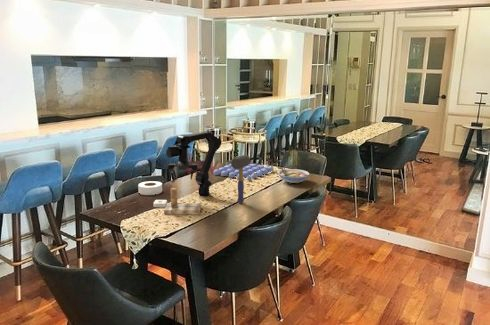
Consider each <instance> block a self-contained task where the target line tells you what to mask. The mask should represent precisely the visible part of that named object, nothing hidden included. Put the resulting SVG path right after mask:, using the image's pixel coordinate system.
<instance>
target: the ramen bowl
mask: <svg viewBox="0 0 490 325" xmlns="http://www.w3.org/2000/svg"><path fill="white" fill-rule="evenodd" d="M277 173H278V174H277V175H278V176H279V177H280V179H282V181H284V182H286V183H288V182H289V183H288V184H291V183H297V184H299V183H302V182H304V181H306V180H307V179H308V177H309V176H310V172H309V171H306V170H304V169H297V168H296V169H295V168H287V169H286V168H285V167H281V169H280V170H279V171H278V172H277Z"/></svg>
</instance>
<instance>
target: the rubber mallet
mask: <svg viewBox="0 0 490 325" xmlns="http://www.w3.org/2000/svg"><path fill="white" fill-rule="evenodd" d="M230 164H231V166H232V167H233V168H234V169H239V179H238V181H237V202H238V204H243V203H244V201H245V199H244V188H245V185H244V177H243V167H246V166H248V165H249V164H251V158H250V156H249V155H248V154H247V155H246V154H243V155H239V156H238V155H237V156H235V157H234V158H232V159H231V162H230Z"/></svg>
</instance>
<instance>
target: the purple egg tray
mask: <svg viewBox="0 0 490 325" xmlns="http://www.w3.org/2000/svg"><path fill="white" fill-rule="evenodd" d="M259 170H260V171H259ZM271 171H272V172H273V166H269V165H268V166H265V165H261V164H256V163H250V164H249V165H248V166H246V167H243V178H244V177H246V179H247V181H248V180H250V181H251V180H252V179H253V178H256V179H257V178H258V177H257V176H261V177H263V176H264V175H263V174H267V173H268V172H271ZM212 172H213V175H215V176H220V175H221V177H223V176H226V177H227V176H228V177H229V178H230V179H234V178H235V177H236V178H237V180H239V169H234V168H233V167H232V166H231V163H229V164H228V165H227V164H226V165H224V166H222V167H220V168H219V169H217V168H216V169H214V170H213V171H212ZM254 172H256V173H254ZM228 174H229V175H228ZM268 174H269V173H268ZM268 174H267V175H268ZM235 175H236V176H235ZM249 175H251V176H249ZM262 175H263V176H262ZM233 177H234V178H233Z"/></svg>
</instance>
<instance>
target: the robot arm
mask: <svg viewBox="0 0 490 325" xmlns="http://www.w3.org/2000/svg"><path fill="white" fill-rule="evenodd" d="M201 140H206V141H207V142H208V143H207V144H208V145H207V148H208V150H207V153H206V156H205V158H204V162H203V164H202V167H201V169H200V170H199V167H200V165H199V163H198V162H197V163H194V162H193V163H192V164H190V162H189V154H188V152H189V151H188V149H191V146H190V144H192V143H193V142H196V141H201ZM221 145H222V140H221V138H220V137H217V136H215V135H214V134H213V133H211V132H210V131H202V132H198V133H194V134H189V135H188V134H179V135H177V136H176V139H175V141H174V143H173V145H171V146H170V145H169V146H167V149H166V151H165V153H166V154H165V155H166V156H167V158H169V159H171V158H177V157H178V158H177V159H178V161H177V164H176V163H173V162H172V163H169V164H168V165H167V170H168V171H171V172H172V174H173V176H174V178H175V180H178V175H177V174H178V172H177V170H178V171H185V170H186V169H190V180H193V175H194V172H196V171H197V170H199V171H197V172H196V174H195V178H194V180H195V182H196V184H197V185H198V186H199V187H198V195H199V197H200V196H203V197H205V196H206V197H208V196H210V187H211V186H212V182H211V181H210V180H209V178H210V173H209V171H210V169H211V166H212V163H213V161H214V157H215V155H216V152H217V151H218V150H219V149H220V147H221Z"/></svg>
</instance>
